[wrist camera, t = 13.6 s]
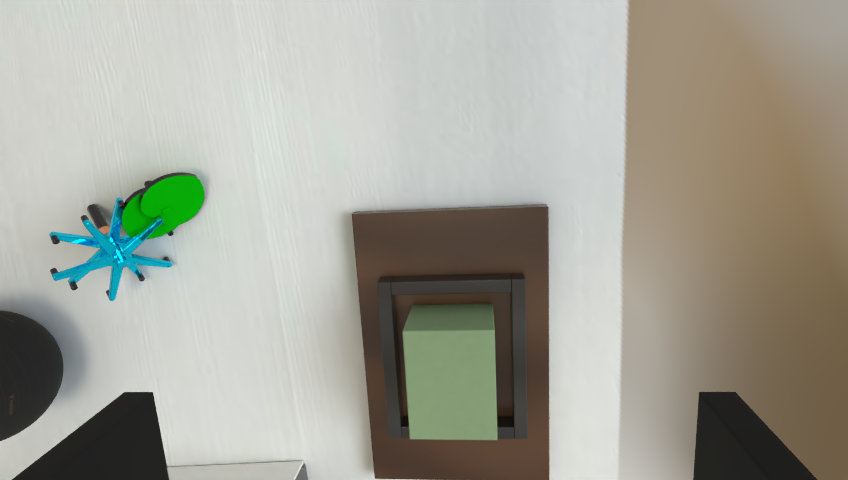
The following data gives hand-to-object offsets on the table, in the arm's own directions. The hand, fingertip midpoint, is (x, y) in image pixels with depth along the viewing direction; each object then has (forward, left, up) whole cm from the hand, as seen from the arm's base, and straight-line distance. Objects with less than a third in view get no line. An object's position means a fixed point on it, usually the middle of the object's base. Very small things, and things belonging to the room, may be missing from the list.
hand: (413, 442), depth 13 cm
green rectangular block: (+4, +9, -26) cm, 27 cm away
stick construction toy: (+22, -10, -27) cm, 36 cm away
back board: (+4, +9, -27) cm, 28 cm away
